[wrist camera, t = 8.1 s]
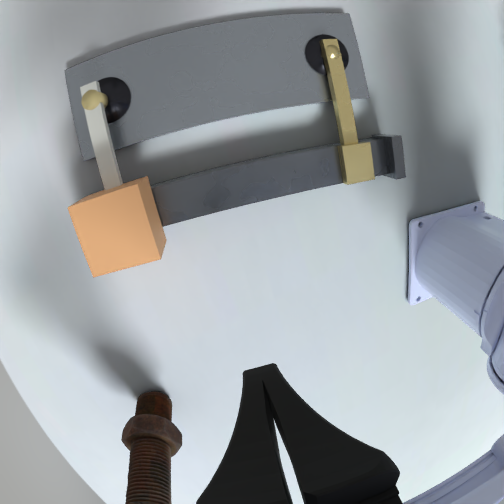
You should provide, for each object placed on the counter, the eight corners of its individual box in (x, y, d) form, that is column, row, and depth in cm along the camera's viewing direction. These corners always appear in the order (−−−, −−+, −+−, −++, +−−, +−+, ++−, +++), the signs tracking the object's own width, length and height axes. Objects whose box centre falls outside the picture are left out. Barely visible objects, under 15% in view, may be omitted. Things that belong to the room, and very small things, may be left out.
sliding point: (126, 76, 15) (109, 63, 12) (167, 236, 19) (160, 259, 16) (67, 99, 15) (39, 93, 11) (110, 252, 19) (93, 277, 15)
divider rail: (363, 44, 17) (381, 35, 15) (385, 171, 21) (405, 177, 19) (63, 106, 16) (46, 104, 14) (100, 241, 20) (89, 255, 17)
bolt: (114, 387, 24) (88, 539, 10) (159, 370, 24) (151, 540, 10) (151, 423, 26) (146, 561, 13) (194, 410, 26) (206, 558, 13)
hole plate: (345, 15, 16) (350, 12, 16) (365, 98, 19) (370, 97, 18) (67, 71, 15) (63, 69, 14) (86, 160, 18) (82, 161, 17)
